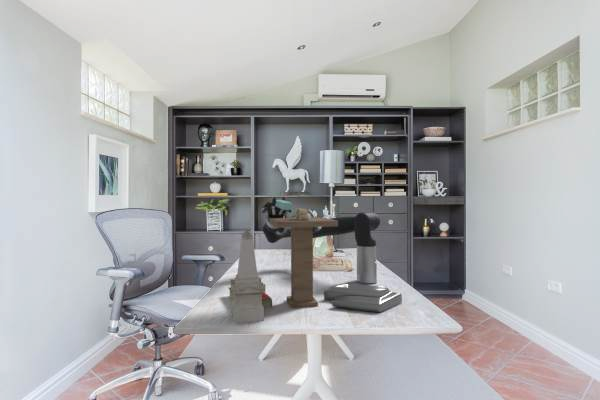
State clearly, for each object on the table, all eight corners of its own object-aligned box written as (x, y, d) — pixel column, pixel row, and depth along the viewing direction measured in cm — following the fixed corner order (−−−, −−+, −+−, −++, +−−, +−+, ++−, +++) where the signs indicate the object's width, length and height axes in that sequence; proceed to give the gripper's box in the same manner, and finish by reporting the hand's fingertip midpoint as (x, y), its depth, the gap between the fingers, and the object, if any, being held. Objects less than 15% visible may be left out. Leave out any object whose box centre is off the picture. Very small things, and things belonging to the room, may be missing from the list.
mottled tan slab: (300, 277, 189) (355, 275, 189) (300, 266, 189) (355, 264, 188) (301, 264, 217) (349, 262, 217) (301, 254, 217) (349, 252, 216)
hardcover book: (256, 293, 147) (256, 283, 147) (272, 308, 128) (272, 296, 128) (228, 297, 142) (228, 286, 142) (240, 312, 123) (240, 300, 123)
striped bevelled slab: (339, 301, 117) (318, 282, 144) (339, 317, 117) (318, 295, 144) (414, 296, 123) (380, 278, 150) (414, 311, 123) (380, 291, 150)
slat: (274, 205, 150) (274, 199, 150) (281, 205, 151) (281, 199, 151) (284, 209, 123) (284, 202, 123) (292, 209, 123) (292, 202, 123)
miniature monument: (265, 321, 113) (265, 229, 113) (233, 324, 110) (232, 230, 110) (260, 311, 123) (260, 227, 123) (230, 313, 120) (230, 227, 120)
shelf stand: (269, 296, 141) (269, 208, 140) (322, 293, 145) (321, 208, 145) (277, 314, 119) (276, 210, 119) (338, 310, 124) (338, 209, 123)
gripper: (290, 224, 160) (296, 206, 145) (260, 225, 157) (263, 207, 142) (289, 210, 163) (294, 191, 149) (259, 210, 161) (262, 191, 146)
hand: (279, 199), depth 145 cm, fingers closed on slat, 3 cm apart
